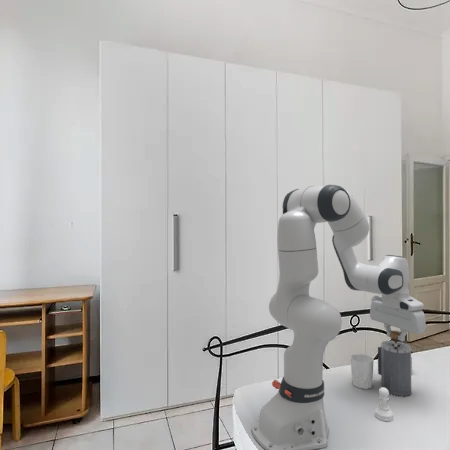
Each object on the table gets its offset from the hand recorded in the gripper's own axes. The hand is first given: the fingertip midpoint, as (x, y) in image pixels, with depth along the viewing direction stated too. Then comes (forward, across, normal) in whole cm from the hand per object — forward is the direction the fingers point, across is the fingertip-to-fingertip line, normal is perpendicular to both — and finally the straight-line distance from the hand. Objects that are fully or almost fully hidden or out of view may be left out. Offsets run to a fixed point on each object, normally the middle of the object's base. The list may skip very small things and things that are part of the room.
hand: (395, 338), depth 118 cm
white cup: (+19, -8, -8) cm, 22 cm away
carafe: (+18, -1, 0) cm, 18 cm away
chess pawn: (+19, +10, -18) cm, 28 cm away
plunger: (+16, 0, 0) cm, 16 cm away
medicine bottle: (+19, -10, +14) cm, 25 cm away
